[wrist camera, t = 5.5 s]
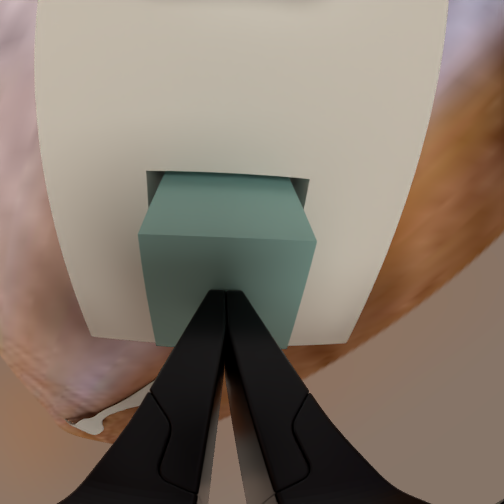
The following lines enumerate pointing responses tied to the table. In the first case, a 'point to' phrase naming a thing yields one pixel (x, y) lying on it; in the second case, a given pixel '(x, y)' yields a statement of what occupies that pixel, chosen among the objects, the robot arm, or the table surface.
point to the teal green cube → (224, 248)
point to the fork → (110, 412)
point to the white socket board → (232, 131)
